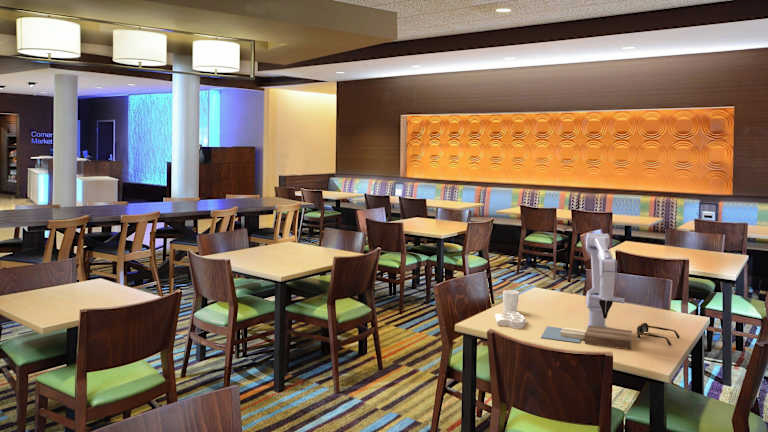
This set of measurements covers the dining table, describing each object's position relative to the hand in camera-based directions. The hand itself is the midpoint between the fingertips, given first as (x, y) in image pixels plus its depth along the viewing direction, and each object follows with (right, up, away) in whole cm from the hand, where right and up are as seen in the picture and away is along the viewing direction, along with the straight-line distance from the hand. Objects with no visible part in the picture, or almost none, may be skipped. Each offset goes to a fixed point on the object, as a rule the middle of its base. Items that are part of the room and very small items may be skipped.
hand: (605, 317), depth 261 cm
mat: (-17, -9, +6) cm, 20 cm away
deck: (+1, -10, -2) cm, 10 cm away
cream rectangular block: (-13, -8, +4) cm, 16 cm away
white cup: (-32, -4, +44) cm, 54 cm away
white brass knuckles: (-35, -7, +23) cm, 43 cm away
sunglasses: (+24, -10, +3) cm, 26 cm away
